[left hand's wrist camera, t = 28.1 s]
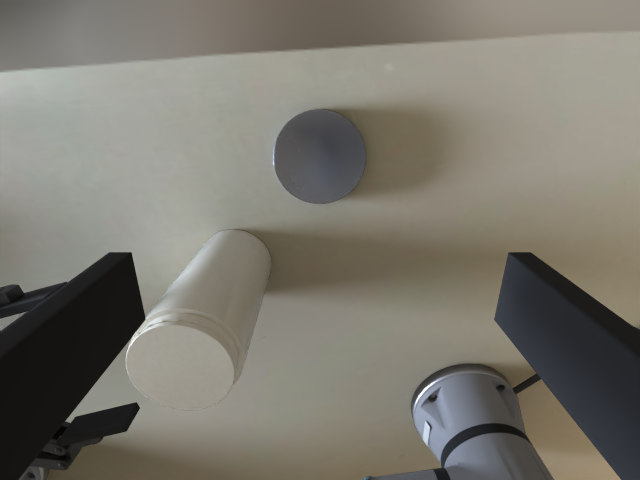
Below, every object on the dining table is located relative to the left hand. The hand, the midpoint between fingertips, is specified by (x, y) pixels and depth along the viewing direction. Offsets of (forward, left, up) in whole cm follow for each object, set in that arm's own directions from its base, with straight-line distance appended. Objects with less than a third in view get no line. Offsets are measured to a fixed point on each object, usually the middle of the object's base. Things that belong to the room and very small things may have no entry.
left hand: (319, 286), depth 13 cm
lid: (0, 0, -28) cm, 29 cm away
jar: (+13, +11, -30) cm, 35 cm away
